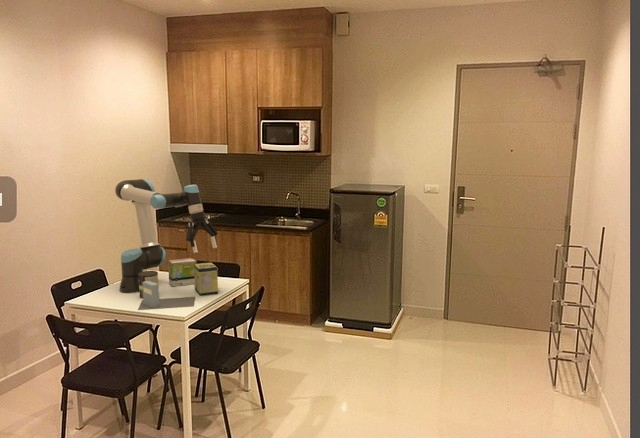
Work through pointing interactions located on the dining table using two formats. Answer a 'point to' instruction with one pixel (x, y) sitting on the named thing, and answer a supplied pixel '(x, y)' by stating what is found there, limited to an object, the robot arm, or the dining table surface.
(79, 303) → the dining table surface
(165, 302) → the mat
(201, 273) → the protein box
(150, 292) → the blue-grey box
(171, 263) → the tea box
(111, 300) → the dining table surface
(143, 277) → the coffee can
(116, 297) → the dining table surface
